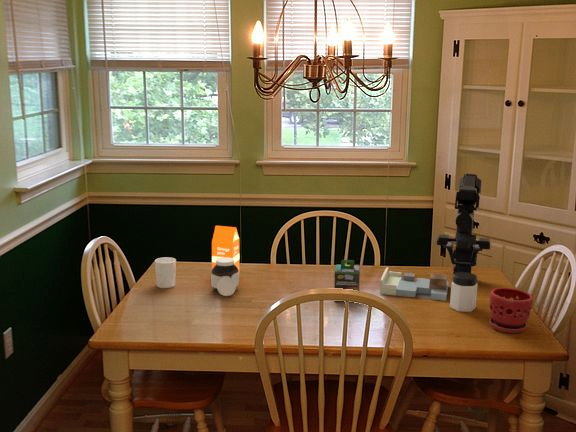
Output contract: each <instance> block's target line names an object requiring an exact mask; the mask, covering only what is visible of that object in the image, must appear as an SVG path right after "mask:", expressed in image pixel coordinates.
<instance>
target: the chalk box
mask: <svg viewBox="0 0 576 432" xmlns="http://www.w3.org/2000/svg"><path fill="white" fill-rule="evenodd" d="M360 266H361V265H360V264H355V260H353V259H342V260H341V261H340V264H335V266H334V276H333V277H334V279H333V282H334V284H333V286H334V287H333V289H334V288H343V289H353V290H358V291H359V292H360V282H361V281H360V280H361V278H360V276H361V275H360V273H361V269H360ZM333 301H334V300H333ZM334 302H336V301H334ZM338 302H342V301H338ZM342 303H343V302H342Z"/></svg>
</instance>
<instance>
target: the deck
mask: <svg viewBox="0 0 576 432" xmlns="http://www.w3.org/2000/svg"><path fill="white" fill-rule="evenodd" d="M403 276H404V275H403ZM403 276H402V271H401V272H400V271H399V272H398V271H391V270H390V271H389V267H388V266H387V267H385V270H384V272H383V274H382V276H381V278H380V279H379V280H380V282H379V284H380V285H379V294H381V295H388V296H397V297H398V296H399V297H405V298H406V297H408V298H417V299H418V298H419V299H427V300H434V301H435V300H436V301H444V302H446V301H447V297H448V296H447V295H448V290H449V280H447V285H446V290H440V289H431V288H429V283H430V278H424V277H423V278H421V277H416V278H415V282H413V281H403Z"/></svg>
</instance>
